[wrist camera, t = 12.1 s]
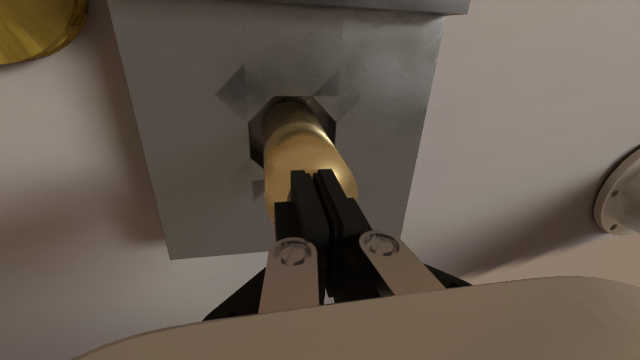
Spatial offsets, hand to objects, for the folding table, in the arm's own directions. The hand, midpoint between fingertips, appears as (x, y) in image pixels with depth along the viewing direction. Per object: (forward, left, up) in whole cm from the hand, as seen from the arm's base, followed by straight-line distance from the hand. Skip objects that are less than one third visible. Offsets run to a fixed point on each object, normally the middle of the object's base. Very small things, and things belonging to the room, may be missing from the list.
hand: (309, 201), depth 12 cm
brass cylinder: (0, 0, -10) cm, 10 cm away
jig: (0, 0, -12) cm, 12 cm away
